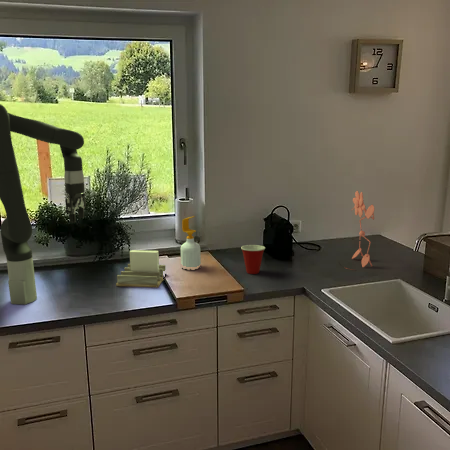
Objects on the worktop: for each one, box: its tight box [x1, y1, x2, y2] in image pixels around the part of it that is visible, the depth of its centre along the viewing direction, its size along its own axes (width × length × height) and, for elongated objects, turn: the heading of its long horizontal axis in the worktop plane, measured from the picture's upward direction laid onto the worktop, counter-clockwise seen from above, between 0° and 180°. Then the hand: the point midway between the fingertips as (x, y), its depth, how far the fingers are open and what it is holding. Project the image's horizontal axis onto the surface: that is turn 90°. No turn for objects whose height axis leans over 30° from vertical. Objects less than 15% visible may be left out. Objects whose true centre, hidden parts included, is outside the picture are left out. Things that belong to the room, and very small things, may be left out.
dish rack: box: [115, 263, 166, 289], centre depth 211 cm, size 16×18×4 cm
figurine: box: [345, 190, 375, 271], centre depth 226 cm, size 15×26×35 cm, turn 5°
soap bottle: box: [180, 215, 202, 267], centre depth 223 cm, size 9×9×25 cm
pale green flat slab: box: [129, 249, 160, 272], centre depth 209 cm, size 2×12×12 cm, turn 83°
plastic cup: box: [240, 244, 266, 275], centre depth 219 cm, size 11×11×12 cm
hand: (77, 220), depth 202 cm, fingers open, 8 cm apart
